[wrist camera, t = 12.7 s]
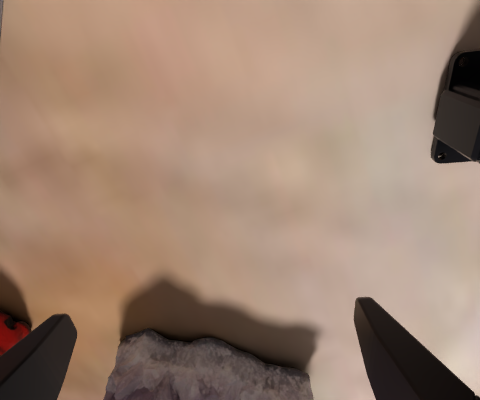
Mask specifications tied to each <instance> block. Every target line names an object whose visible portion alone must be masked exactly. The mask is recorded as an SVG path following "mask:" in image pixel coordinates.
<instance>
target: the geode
mask: <svg viewBox="0 0 480 400" xmlns="http://www.w3.org/2000/svg"><path fill="white" fill-rule="evenodd" d="M103 400H314V399H313V393H312V390H311V385H310V379H309V375H308V374H307V373H305V372H302V371H300V370H298V369H296V368H289V367H280V366H277V365H274V364H265V363H263V362H262V361H260V360H259V359H258V358H256V357H255V356H253V355H252V354H250V353H246V352H243V351H240V350H238V349H236V348H234V347H232V346H230V345H228V344H227V343H225V342H224V341H221V340H219V339H216V338H213V337H211V338H201V339H197V340H194V341H193V342H192V343H190V342H183V341H176V340H168V339H166V338H164V337H163V336H161V335H159V334H158V333H156V332H155V331H153V330H151V329H149V328H147V329H145V330H143V331H141V332H138V333H135V334H132V335H128V336H126V339H125V340H123V341H122V342H121V343H120V344H119V346H118V351H117V356H116V365H115V368H114V370H113V371H112V373H111V375H110V376H109V377H108V383H107V386H106V394H105V397H104V399H103Z"/></svg>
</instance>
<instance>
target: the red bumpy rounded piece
mask: <svg viewBox="0 0 480 400" xmlns="http://www.w3.org/2000/svg"><path fill="white" fill-rule="evenodd" d="M30 332H31V329H30V327H29V325H28V324H27V323H25V322H23V321H20V322H15V321H13V320H12V317H11V316H9V315H7V314H5V313H4V312H1V311H0V356H1V355H2V354H4V353H5V352H6V351H7V350H9V349H10V348H11V347H13V346H14V345H15V344H16V343H18V342H19V341H20V340H21V339H23V338H24V337H25V336H27V335H28V334H29V333H30Z"/></svg>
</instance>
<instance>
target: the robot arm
mask: <svg viewBox="0 0 480 400" xmlns="http://www.w3.org/2000/svg"><path fill="white" fill-rule="evenodd" d="M463 57H464V62H463V64H462V65H460V66H459V61H460V59H461V58H463ZM433 135H434V136H435V137H434V142H433V147H432V152H431V158H432V160H434V161H435V162H437V163H454V162H468V161H474V162H476V161H477V162H478V163H480V50H470V51H461V52H458V53H456V54H455V55H454V56H453V57H452V59H451V61H450V65H449V70H448V75H447V80H446V84H445V89H444V92H443V93H442V94H441V96H440V101H439V106H438V111H437V116H436V121H435V126H434V131H433ZM442 152H443V155H442V156H441V157H439V158H438V156H439V154H440V153H442ZM354 323H355V328H356V332H357V336H358V340H359V344H360V348H361V352H362V356H363V360H364V364H365V368H366V372H367V375H368V378H369V381H370V384H371V387H372V390H373V393H374V395H375V398H376V400H480V397H479V396H477V395H476V396H475V393H474V392H473V391H472V390H471V389H470V388H469V387H468V386H467V385H465V384H464V383H463V382H462V381H461V380H460V379H459V378H458V377H457V376H456V375H455V374H454V373H452V372H451V371H450V370H449V369H448V368H447V367H446V366H445V365H444V364H443V363H442V362H441V361H439V360H438V359H437V358H436V357H435V356H434V355H433V354H432V353H431V352H430V351H429V350H428V349H426V348H425V347H424V346H423V345H422V344H421V343H420V342H419V341H418V340H417V339H416V338H415V337H413V336H412V335H411V334H410V333H409V332H408V331H407V330H406V329H405V328H404V327H403V326H401V325H400V324H399V323H398V322H397V321H396V320H395V319H394V318H393V317H392V316H391V315H390V314H388V313H387V312H386V311H385V310H384V309H383V308H382V307H381V306H380V305H379V304H378V303H377V302H375V301H374V300H373V299H372V298H370V297H359V298H357V299H356V301H355V310H354ZM76 339H77V330H76V328H75V326H74V324H73V322H72V320H71V318H70V316H69V315H68V314H55V315H52V316H51V317H50V318H48V319H47V320H46V321H44V322H43V323H42V324H41V325H39V326H38V327H37V328H36V329H34V330H33V331H32V332H30V333H29V334H28V335H27V336H25V337H24V338H23V339H21V340H20V341H19V342H18V343H16V344H15V345H14V346H13V347H11V348H10V349H9V350H7V351H6V352H5V353H4V354H2V355H1V356H0V400H57V398H58V395H59V393H60V390H61V387H62V384H63V382H64V379H65V375H66V372H67V369H68V365H69V362H70V359H71V355H72V352H73V349H74V346H75V342H76Z"/></svg>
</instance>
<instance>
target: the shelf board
mask: <svg viewBox="0 0 480 400" xmlns="http://www.w3.org/2000/svg"><path fill="white" fill-rule="evenodd" d="M2 9H3V0H0V34H1V21H2Z"/></svg>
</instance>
